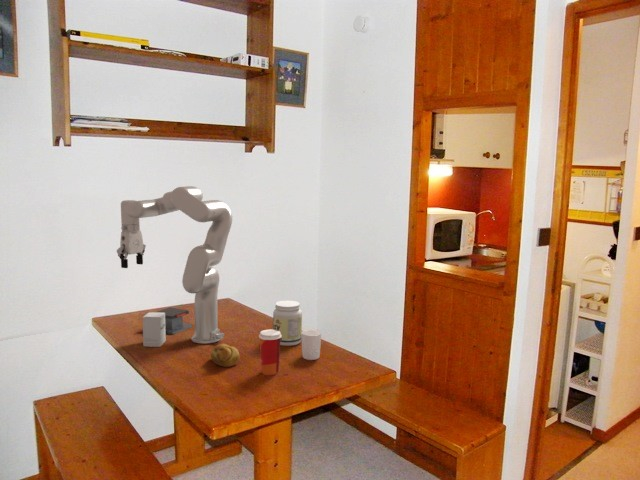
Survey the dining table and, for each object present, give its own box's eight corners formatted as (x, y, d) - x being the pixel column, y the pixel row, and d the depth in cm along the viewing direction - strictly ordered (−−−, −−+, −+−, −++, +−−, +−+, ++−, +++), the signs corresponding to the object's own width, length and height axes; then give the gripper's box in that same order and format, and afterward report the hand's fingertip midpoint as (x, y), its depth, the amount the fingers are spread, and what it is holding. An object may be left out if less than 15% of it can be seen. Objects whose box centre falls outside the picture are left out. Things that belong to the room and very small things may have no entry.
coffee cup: (269, 366, 196) (270, 327, 194) (286, 371, 191) (286, 332, 189) (253, 372, 189) (253, 332, 187) (269, 378, 184) (269, 337, 182)
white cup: (303, 361, 201) (303, 336, 200) (298, 354, 209) (299, 330, 207) (323, 359, 203) (323, 334, 202) (318, 352, 211) (318, 328, 210)
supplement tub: (268, 339, 226) (268, 301, 224) (294, 335, 231) (294, 298, 229) (279, 348, 215) (280, 308, 213) (306, 344, 221) (307, 305, 218)
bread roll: (205, 360, 201) (205, 340, 200) (228, 355, 207) (228, 335, 206) (220, 370, 191) (220, 349, 190) (244, 365, 197) (244, 344, 196)
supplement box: (160, 347, 214) (159, 317, 213) (142, 346, 214) (141, 316, 213) (166, 341, 222) (165, 312, 220) (149, 340, 222) (148, 311, 220)
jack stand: (192, 327, 241) (191, 310, 240) (172, 334, 230) (172, 317, 229) (170, 322, 247) (170, 306, 246) (150, 330, 235) (149, 313, 234)
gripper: (123, 230, 223) (125, 270, 225) (150, 226, 239) (151, 263, 241) (109, 229, 226) (111, 268, 228) (137, 225, 242) (138, 262, 244)
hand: (132, 266), depth 235 cm, fingers open, 9 cm apart
